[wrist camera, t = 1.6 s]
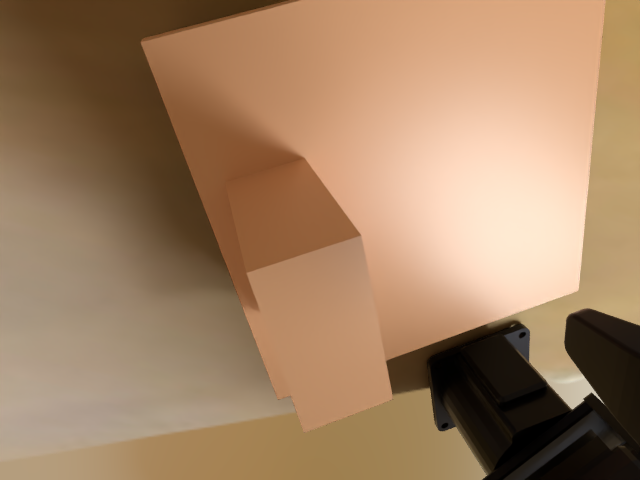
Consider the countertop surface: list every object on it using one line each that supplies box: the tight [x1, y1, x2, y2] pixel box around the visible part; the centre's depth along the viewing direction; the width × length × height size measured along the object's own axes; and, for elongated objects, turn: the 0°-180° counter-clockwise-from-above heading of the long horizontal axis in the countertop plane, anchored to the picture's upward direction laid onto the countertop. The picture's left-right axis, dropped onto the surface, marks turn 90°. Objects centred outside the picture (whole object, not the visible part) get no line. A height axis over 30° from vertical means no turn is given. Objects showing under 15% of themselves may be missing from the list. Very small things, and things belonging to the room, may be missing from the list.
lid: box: [141, 0, 605, 433], centre depth 14 cm, size 13×13×8 cm
